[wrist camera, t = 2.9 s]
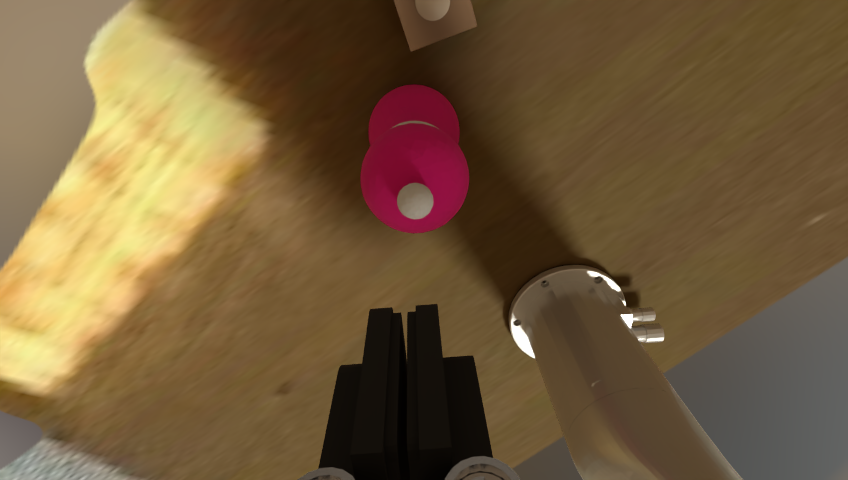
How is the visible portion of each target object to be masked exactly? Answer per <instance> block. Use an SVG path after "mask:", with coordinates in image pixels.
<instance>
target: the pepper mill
mask: <svg viewBox="0 0 848 480" xmlns="http://www.w3.org/2000/svg"><path fill="white" fill-rule="evenodd" d="M368 133H369V142H370V147H369V149H368V151H367V153H366V155H365V157H364V160H363V163H362V168H361V175H360V179H361V189H362V193H363V197H364V199H365V201H366V204H367V205H368V207H369V208H370V210H371V211H372V213H373V214H374V215H375V216H376V217H377V218H378V219H379V220H380V221H382V222H383V223H384V224H386V225H387V226H389V227H391V228H393V229H396V230H399V231H402V232H408V233H424V232H428V231H432V230H434V229H437V228H439V227H441V226H443V225H444V224H446V223H447V222H448V221H449V220H451V219H452V218H453V217H454V215H455V214H456V213H457V212H458V211H459V209H460V208H461V206H462V204H463V203H464V200H465V198H466V195H467V191H468V187H469V170H468V165H467V161H466V158H465V156H464V154H463V152H462V150H461V149H460V147H459V146H458V143H459V136H460V130H459V121H458V118H457V114H456V112H455V110H454V108H453V106H452V105H451V103H450V102H449V101H448V100H447V99H446V98H445V96H443V95H442V94H441V93H439V92H438V91H436V90H434V89H432V88H430V87H427V86H423V85H416V84H413V85H404V86H401V87H397V88H395V89H393V90H392V91H390V92H388V93H387V94H386V95H384V96H383V97H382V98H381V99H380V100H379V102H378V103H377V104H376V106H375V108H374V109H373V112H372V114H371V117H370V121H369V131H368Z"/></svg>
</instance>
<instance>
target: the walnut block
mask: <svg viewBox="0 0 848 480" xmlns="http://www.w3.org/2000/svg"><path fill="white" fill-rule="evenodd" d="M394 2H395V6H396V9H397V12H398V15H399V18H400V21H401V24H402V27H403V30H404V33H405V36H406V39H407V42H408V45H409V48H410V51H411V52H412V51H414V50H417V49H419V48H422V47H425V46H427V45H430V44H433V43H435V42H438V41H440V40H443V39H446V38H448V37H451V36H453V35H456V34H459V33H461V32H464V31H467V30H469V29H472V28H474V27H477V23H476V19H475V15H474V11H473V7H472V3H471V0H394Z"/></svg>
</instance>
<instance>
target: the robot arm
mask: <svg viewBox="0 0 848 480" xmlns="http://www.w3.org/2000/svg"><path fill="white" fill-rule="evenodd" d="M653 320H655V311H654V309H653V308H651V307H650V308H639V309H630V307H626V301H625V298H624V294H623V292H622V291H621V289H620V287H619V286H618V285H617V283H616V282H615V281H614V280H613V279H612V278H611V277H610V276H609V275H607V274H606V273H604V272H603V271H601V270H599V269H596V268H593V267H589V266H584V265H565V266H560V267H556V268H552V269H550V270H547V271H545V272H542V273H541V274H539V275H537V276H536V277H534V278H532V279H531V280H530V281H529V282H527V283H526V284H525V285H524V286H523V287H522V288H521V289H520V291H519V292H518V293H517V294H516V296H515V298H514V300H513V302H512V304H511V307H510V310H509V319H508V321H509V328H510V331H511V334H512V337H513V339H514V341H515V343H516V344H517V346H518V347H519V348H520V349H521V350H522V351H523V352H525V353H526V354H527V355H529V356H531V357H533V358H535V359H536V361H537V364H538V367H539V369H540V372H541V375H542V378H543V380H544V383H545V386H546V388H547V391H548V394H549V397H550V399H551V402H552V405H553V407H554V410H555V413H556V416H557V418H558V421H559V424H560V426H561V429H562V432H563V435H564V437H565V440H566V443H567V445H568V448H569V451H570V454H571V456H572V459H573V462H574V463H575V466H576V468H577V470H578V472H579V473H580V475H581V477H582V478H583V480H743V479H742V478H741V477H740V476H739V474H738V473H737V472H736V471H735V470H734V469H733V467H732V466H731V465H730V464H729V463H728V461H727V460H726V459H725V457H724V456H723V455H722V454H721V452H720V451H719V450H718V448H717V447H716V446H715V444H714V443H713V442H712V441H711V439H710V438H709V437H708V435H707V434H706V433H705V431H704V430H703V429H702V427H701V426H700V425H699V423H698V422H697V421H696V419H695V418H694V416H693V415H692V414H691V412H690V411H689V409H688V408H687V407H686V405H685V404H684V403H683V402H682V400H681V399H680V397H679V396H678V394H677V393H676V392H675V390H674V389H673V387H672V386H671V385H670V383H669V382H668V381H667V379H666V378H665V376H664V375H663V373H662V372H661V371H660V369H659V368H658V366H657V365H656V364H655V362H654V361H653V359H652V358H651V357H650V355H649V354H648V352H647V351H646V350H645V348H644V347H643V345H642V344H641V343H640V342H644V343H651V342H662V341H663V340H664V331H663V328H662V326H661V325H660V324H659V323H658V324H644V325H640V326H631V324H632V323H633V321H653ZM298 480H520V478H519V476H518V475H517V473H516V472H515V471H514V470H513V469H512V468H510V467H509V466H508V465H507V464H505V463H503V462H501V461H500V460H498V459H495V458H493V455H492V450H491V445H490V440H489V434H488V429H487V424H486V419H485V414H484V408H483V403H482V398H481V393H480V387H479V382H478V377H477V372H476V367H475V362H474V357H473V356H460V357H446V358H443V356H442V346H441V336H440V326H439V316H438V306H437V304H432V305H418V306H416V312H408V315H407V359H406V350H405V341H404V333H403V324H402V316H401V313H393V309H392V308H378V309H370V311H369V318H368V325H367V333H366V340H365V347H364V355H363V362H362V364H352V365H341V366H340V368H339V371H338V375H337V380H336V385H335V389H334V394H333V399H332V404H331V409H330V414H329V419H328V424H327V429H326V434H325V439H324V444H323V449H322V454H321V459H320V464H319V469H317V470H314V471H311V472H308V473H307V474H305V475H304V476H302V477H301V478H299V479H298Z"/></svg>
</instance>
